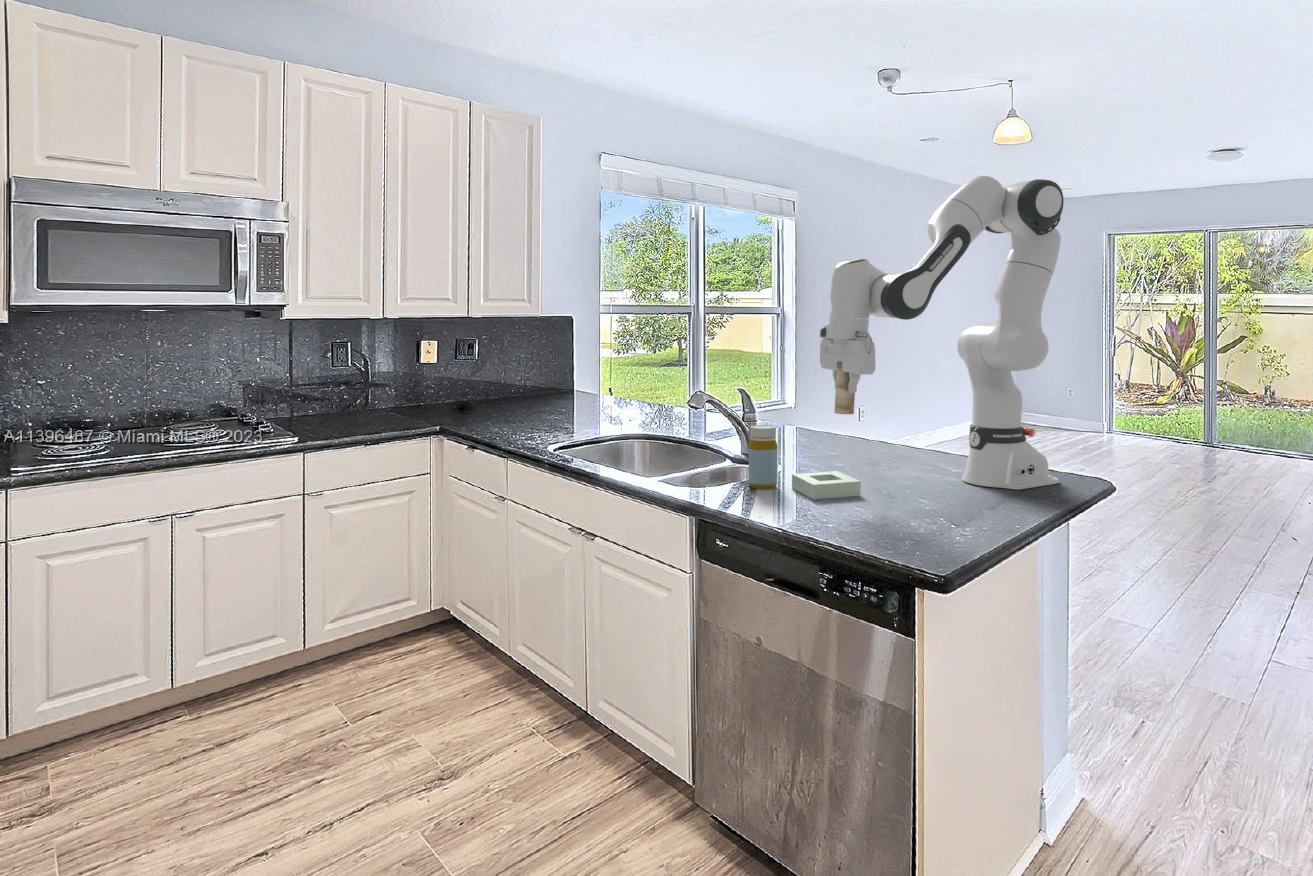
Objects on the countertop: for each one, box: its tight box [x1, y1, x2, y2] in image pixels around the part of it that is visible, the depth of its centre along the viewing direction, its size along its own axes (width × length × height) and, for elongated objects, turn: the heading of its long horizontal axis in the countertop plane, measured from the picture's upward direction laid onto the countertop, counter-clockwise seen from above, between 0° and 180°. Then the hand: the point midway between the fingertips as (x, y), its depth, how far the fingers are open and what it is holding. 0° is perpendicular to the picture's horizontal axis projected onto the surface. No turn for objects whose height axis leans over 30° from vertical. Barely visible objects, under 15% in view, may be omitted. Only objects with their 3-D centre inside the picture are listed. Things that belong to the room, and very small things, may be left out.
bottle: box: [748, 424, 779, 490], centre depth 192 cm, size 7×7×15 cm
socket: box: [791, 470, 862, 500], centre depth 186 cm, size 12×12×4 cm
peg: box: [834, 361, 856, 415], centre depth 181 cm, size 4×4×12 cm
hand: (845, 391), depth 181 cm, fingers closed on peg, 4 cm apart
